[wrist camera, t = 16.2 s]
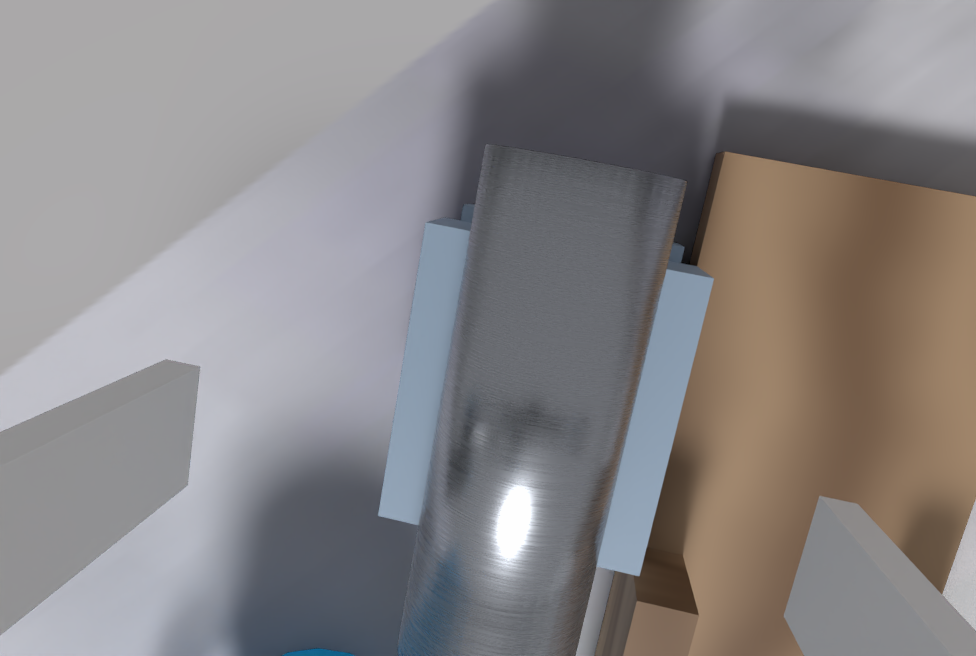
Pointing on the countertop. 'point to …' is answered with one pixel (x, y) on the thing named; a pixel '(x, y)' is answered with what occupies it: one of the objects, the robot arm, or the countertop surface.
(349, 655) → the mug
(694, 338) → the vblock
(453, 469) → the axle
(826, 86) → the countertop surface
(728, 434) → the wooden channel tray
